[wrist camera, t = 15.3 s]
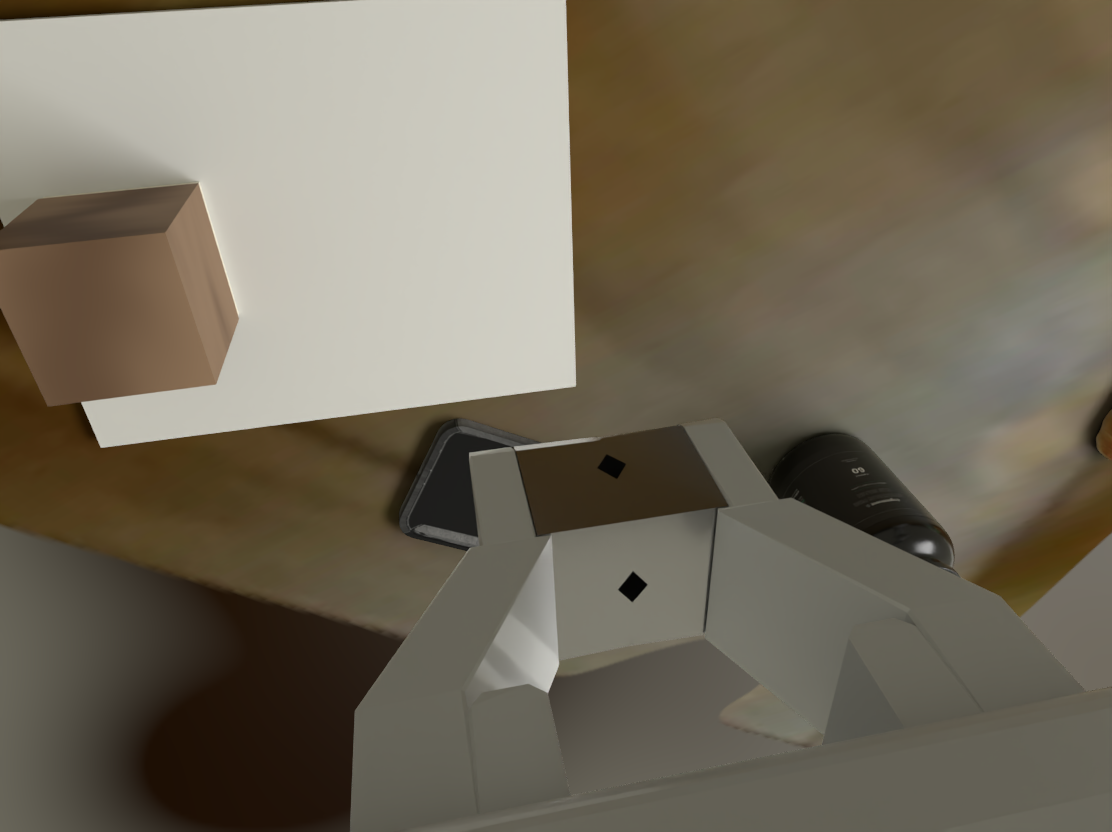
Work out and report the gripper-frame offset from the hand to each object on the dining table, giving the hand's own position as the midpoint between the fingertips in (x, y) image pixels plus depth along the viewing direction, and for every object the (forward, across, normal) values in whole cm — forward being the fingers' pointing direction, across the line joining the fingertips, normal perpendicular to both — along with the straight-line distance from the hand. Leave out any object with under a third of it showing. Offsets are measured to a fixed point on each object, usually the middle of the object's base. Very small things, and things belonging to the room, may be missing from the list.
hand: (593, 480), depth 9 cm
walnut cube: (+20, +13, +6) cm, 25 cm away
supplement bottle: (+27, -20, +24) cm, 41 cm away
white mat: (+27, +6, +6) cm, 28 cm away
